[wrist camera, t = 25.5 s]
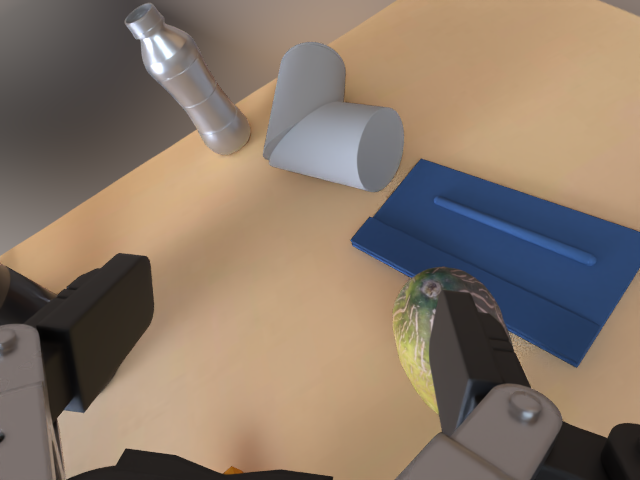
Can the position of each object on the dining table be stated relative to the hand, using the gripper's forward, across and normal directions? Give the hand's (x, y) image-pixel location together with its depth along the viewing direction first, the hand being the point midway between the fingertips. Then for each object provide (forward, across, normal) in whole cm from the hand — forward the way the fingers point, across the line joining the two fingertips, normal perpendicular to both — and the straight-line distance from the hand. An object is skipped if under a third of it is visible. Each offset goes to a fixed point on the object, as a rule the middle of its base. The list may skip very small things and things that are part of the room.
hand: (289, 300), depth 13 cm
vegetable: (+16, -12, +18) cm, 27 cm away
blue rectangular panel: (+28, -13, +9) cm, 32 cm away
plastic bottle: (+52, +15, +9) cm, 55 cm away
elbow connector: (+46, +1, +6) cm, 46 cm away
